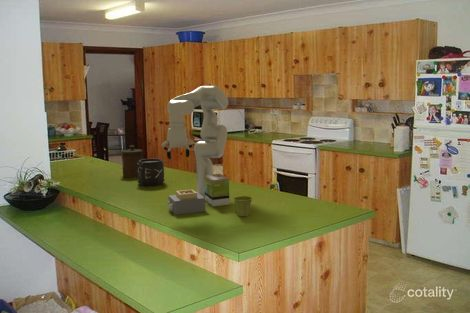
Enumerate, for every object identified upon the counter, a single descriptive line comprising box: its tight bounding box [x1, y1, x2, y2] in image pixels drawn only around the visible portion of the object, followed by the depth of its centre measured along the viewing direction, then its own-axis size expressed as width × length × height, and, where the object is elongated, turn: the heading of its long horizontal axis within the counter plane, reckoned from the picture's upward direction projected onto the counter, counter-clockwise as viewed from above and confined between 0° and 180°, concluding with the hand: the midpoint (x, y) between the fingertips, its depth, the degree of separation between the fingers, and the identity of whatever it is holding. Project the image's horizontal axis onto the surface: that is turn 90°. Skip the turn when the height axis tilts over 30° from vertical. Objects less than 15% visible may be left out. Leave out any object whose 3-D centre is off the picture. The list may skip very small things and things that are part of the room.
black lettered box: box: [137, 158, 165, 188], centre depth 328 cm, size 18×18×16 cm
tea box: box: [204, 173, 231, 207], centre depth 275 cm, size 15×10×15 cm, turn 21°
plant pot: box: [233, 195, 253, 217], centre depth 248 cm, size 9×9×9 cm
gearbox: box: [166, 189, 206, 216], centre depth 261 cm, size 18×14×10 cm
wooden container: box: [121, 144, 144, 178], centre depth 359 cm, size 15×15×22 cm
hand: (178, 157), depth 264 cm, fingers open, 9 cm apart
